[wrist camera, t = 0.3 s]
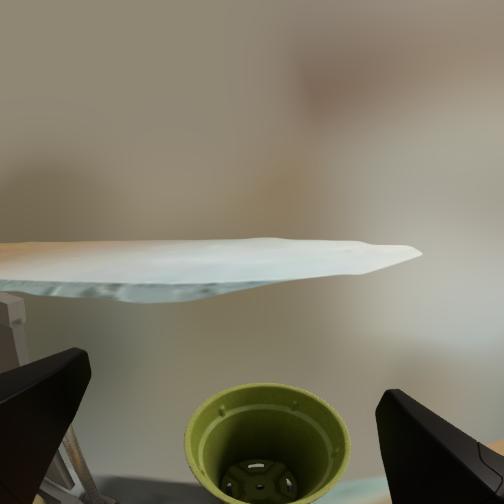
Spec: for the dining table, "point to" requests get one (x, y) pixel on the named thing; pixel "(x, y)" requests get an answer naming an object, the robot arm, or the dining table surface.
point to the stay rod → (83, 470)
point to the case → (54, 495)
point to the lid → (15, 355)
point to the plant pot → (267, 445)
